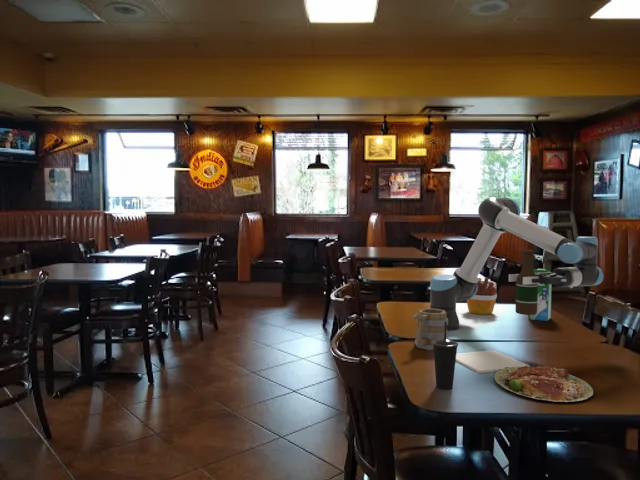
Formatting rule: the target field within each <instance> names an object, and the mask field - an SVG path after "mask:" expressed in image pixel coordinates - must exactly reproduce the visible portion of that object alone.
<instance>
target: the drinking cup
mask: <svg viewBox="0 0 640 480" xmlns="http://www.w3.org/2000/svg"><path fill="white" fill-rule="evenodd" d="M447 331H448V330H447V322H444V338H440V339H437V340H434V341H433V342H432V344H433V349H434V350H433V359H434V361H433V362H434V374H435V386H436V388H437V389H440V390H446V391H447V390H448V391H449V390H452V389H453V387H454V377H455V370H456V354H457V352H458V351H457V350H458V346H459V343H458V342H457V341H455V340H454V339H451V338H448V337H446V335H447Z"/></svg>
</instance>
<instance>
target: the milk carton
mask: <svg viewBox="0 0 640 480" xmlns="http://www.w3.org/2000/svg"><path fill="white" fill-rule="evenodd" d="M533 271H534V273H540V272H542V273H547V272H551V271H550V270H548V269H545V268H537V269H534V268H533ZM543 275H544V274H543ZM552 285H553V284H549V285H545V284H540V283H539V284H538V303H537V313H536V314H535V315H527V320H534V321H541V322H542V321H544V322H548V321H549V320H550V319H551V318H552V317H551V314H552V311H551V310H552V287H553V286H552Z"/></svg>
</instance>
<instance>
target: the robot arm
mask: <svg viewBox="0 0 640 480" xmlns="http://www.w3.org/2000/svg"><path fill="white" fill-rule="evenodd" d="M477 209H478V216H479V219H480V220H481V221H482V223H483V224H482V227H481V228H480V231H479V233H478V235H477V236H476V238H475V240H474V242H473V244H472V245H471V248H470V249H469V251H468V254H467V255H466V257H465V258H464V260H463V263H462V264H461V266H460V267H458V268H455V270H454V272H453V273H452V274H438V275H435V276H433V277H431V279H430V284H429V288H430V289H429V290H430V291H429V295H430V296H429V309H440V310H444V311H445V312H446V313H447V318H448V325H447V331H452V330H459V328H460V320H459V317H458V313H457V310H456V309H457V308H456V307H457V302H462V301H467V300H468V299H470V298H472V297H473V296H474V295H475V294H476V292H477V289H478V286H477V283H478V281H479V280H478V278H479V277H478V276H479V274H480V272H481V271H482V269H483V267H484V265H485V264H486V261H487V260H488V258H489V256H490V255H491V253H492V250H493V249H494V247H495V245H496V244H497V242H498V240H499V239H500V236H501V235H502V234H504V233H507V232H509V233H511V234H512V235H515V236H516V237H518V238H520V239H523V240H524V241H527V242H529V243H531V244H533V245H534V246H537V247H539V248H541V249H542V250H544V251H546V252H548V253H551V254H553V255H554V256H557V258H559V260H560V261H562V263H565V264H570V265H573V264H575V266H573V267H572V266H569V267H557V268H554V269H553V271H552V272H551V271H550V272H547V273H542V272H540V273H535V274H536V277H523V285H527V284H539V283H540V284H545V285H549V284H552V285H553V286H555V287H557V288H570V289H573V288H574V287H591V286H598V285H601V283H602V282H603V281H604V278H605V277H604V273H603V270H602V269H601V268H600V267H598V251H599V250H598V249H599V239H598V237H596V236H577V237H576V241H573V240H571V239H569V238H566V237H564V236H562V235H561V234H559V233H556V232H554V231H552V230H550V229H548V228H545V227H543V226H542V225H539V224H537V223H535V222H533V221H530V220H529V219H526V218H525V217H522V216H521V208H520V205H519V204H518V202H517V201H516V200H515V199H513V198H509V197H495V196H494V197H493V196H491V197H488V198H485V199H484V200H482V201H481V203H480V204H479V206H478V208H477ZM519 274H520V273H515V274H514V273H512V274H511V273H509V274H508V282H509V283H510V282H512V283H513V282H516V281H517V277H518V275H519ZM543 274H544V275H543Z"/></svg>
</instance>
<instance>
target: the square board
mask: <svg viewBox="0 0 640 480" xmlns="http://www.w3.org/2000/svg"><path fill="white" fill-rule="evenodd" d="M456 362H457V363H459V364H460V365H463V366H464V367H466V368H468V369H470V370H472V371H474V372H476V373H478V374H488V373H496V372H497V371H499V370H502V369H505V367H524V366H526V365H527V366H529V367H531V365H528V364H527V363H524V362H522V361H519V360H518V359H515V358H512V357H510V356H508V355H506V354H503V353H501V352H499V351H496V350H494V349H491V350H481V351H471V352H470V351H469V352H460V353H459V352H458V353H456ZM456 362H455V363H456Z"/></svg>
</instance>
